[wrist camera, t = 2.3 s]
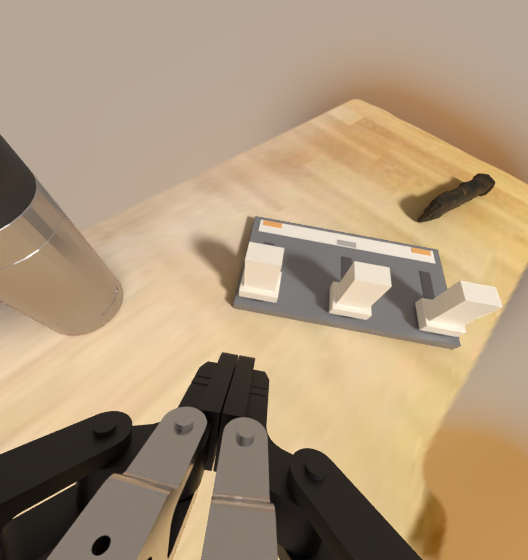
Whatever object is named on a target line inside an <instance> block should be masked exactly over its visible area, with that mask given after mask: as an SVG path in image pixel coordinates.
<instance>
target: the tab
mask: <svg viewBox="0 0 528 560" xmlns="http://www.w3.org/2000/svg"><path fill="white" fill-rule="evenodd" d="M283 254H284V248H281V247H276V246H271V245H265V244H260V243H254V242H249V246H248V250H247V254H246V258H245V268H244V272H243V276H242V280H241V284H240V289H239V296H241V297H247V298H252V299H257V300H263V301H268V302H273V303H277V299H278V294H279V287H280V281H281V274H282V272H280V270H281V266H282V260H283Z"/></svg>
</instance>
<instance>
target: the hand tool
mask: <svg viewBox="0 0 528 560" xmlns="http://www.w3.org/2000/svg"><path fill="white" fill-rule="evenodd" d="M494 185H495V181H494V180H493V179H492V178H491V177H490V175H488V174H477V175H476V176H474V177H473V179H472V180H471V181H469V182H463V183H462V184H460V185H459V187H458V188H456V189H454V190H452V191H450V192H444V193H442V194H441V195H439V196H438V197H436V198H435V199H434V200H433V201H432V202H431V203H430V204H429V206H428V207H427V208H426V209H425V210H424V213H423V214H422V216H421V217H420V218H419V219H418V222H426V221H430V220H433V219H436V218H440V217H441V216H442V215H443V214H445V213H446V212H448V211H450V210H452V209H454V208H456V207H459V206H460V205H462V204H464V203H465V202H468V201H470V200H472V199H473V198H475V197H477V196H478V195H479V196H483V195H487V193H488V192H489V191H491V190H492V188H493V187H494Z"/></svg>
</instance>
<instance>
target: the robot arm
mask: <svg viewBox="0 0 528 560" xmlns="http://www.w3.org/2000/svg"><path fill="white" fill-rule="evenodd" d="M122 299H123V290H122V287H121V284H120V283H119V281H118V280H117V279H116V277H115V276H114V275H113V274H112V272H111V271H110V270H109V269H108V267H107V266H106V264H105V263H104V262H103V261H102V259H101V258H100V257H99V256H98V254H97V253H96V252H95V251H94V249H93V248H92V247H91V246H90V244H89V243H88V242H87V241H86V239H85V238H84V237H83V236H82V234H81V233H80V232H79V231H78V230H77V228H76V227H75V226H74V224H73V223H72V222H71V221H70V219H69V218H68V217H67V216H66V214H65V213H64V212H63V211H62V209H61V208H60V207H59V205H58V204H57V203H56V202H55V201H54V199H53V198H52V197H51V196H50V194H49V193H48V192H47V191H46V189H45V188H44V187H43V186H42V184H41V183H40V182H39V181H38V179H37V178H36V177H35V176H34V174H33V173H32V172H31V171H30V170H29V168H28V167H27V166H26V165H25V164H24V162H23V161H22V160H21V159H20V157H18V155H17V154H16V153H15V152H14V150H13V149H12V148H11V147H10V146H9V144H8V143H7V142H6V141H5V140H4V138H3V137H2V136H1V135H0V301H1V302H3V303H5V304H7V305H9V306H10V307H12V308H14V309H16V310H18V311H20V312H21V313H23V314H25V315H27V316H29V317H30V318H32V319H34V320H36V321H37V322H39V323H41V324H43V325H45V326H47V327H48V328H50V329H52V330H54V331H56V332H58V333H60V334H64V335H82V334H87V333H89V332H92V331H95V330H97V329H98V328H100V327H102V326H103V325H105V324H106V323H107V322H109V321H110V320H111V319H112V318H113V317H114V315H115V314H116V313H117V311H118V310H119V308H120V305H121V303H122ZM254 362H255V358H252V357H246V356H241V355H239V358H238V355H235V354H229V353H224V352H222V354H221V356H220V358H219V361H218V363H214V362H206V363H205V364H204V365H202V366H201V367H200V368H199V369H198V371H197V373H196V375H195V377H194V379H193V380H192V383H191V384H190V386H189V388H188V390H187V392H186V393H185V395H184V397H183V399H182V401H181V403H180V404H179V406H178V408H176V409H174V410H171V411H170V412H168V413H167V414H166V415H165V416H164V417H163V419H162V420H161V422H159V423H155V424H149V425H137V426H132V420H131V418H130V417H129V416H128V415H127V414H125V413H123V412H119V411H109V412H104V413H100V414H97V415H95V416H93V417H90V418H88V419H85V420H83V421H80V422H78V423H75V424H73V425H71V426H68V427H66V428H63V429H61V430H58V431H56V432H54V433H51V434H49V435H46V436H44V437H41V438H39V439H36V440H34V441H32V442H29V443H27V444H24V445H22V446H19V447H17V448H14V449H12V450H10V451H7V452H5V453H2V454H0V560H173V557H174V554H175V552H176V549H177V546H178V544H179V541H180V538H181V536H182V533H183V530H184V528H185V525H186V522H187V520H188V517H189V514H190V512H191V509H192V506H193V504H194V501H195V499H196V496H197V492H198V487H199V485H200V482H201V479H202V476H203V473H204V470H209V471H212V467H213V463H214V460H215V464H214V471H215V472H216V478H215V483H214V489H213V495H212V499H211V505H210V511H209V516H208V522H207V528H206V534H205V540H204V545H203V551H202V557H201V560H278V557H279V559H280V560H422V559H421V558H420V557H419V556H418V554H417V553H416V552H415V551H414V550H413V549H412V548H411V547H410V546H409V545H408V544H407V542H406V541H405V540H404V539H403V538H402V537H401V536H400V535H399V534H398V533H397V532H396V530H395V529H394V528H393V527H392V526H391V525H390V524H389V523H388V522H387V521H386V520H385V518H384V517H383V516H382V515H381V514H380V513H379V512H378V511H377V510H376V509H375V508H374V506H373V505H372V504H371V503H370V502H369V501H368V500H367V499H366V498H365V497H364V495H363V494H362V493H361V492H360V491H359V490H358V489H357V488H356V487H355V486H354V485H353V483H352V482H351V481H350V480H349V479H348V478H347V477H346V476H345V475H344V474H343V473H342V471H341V470H340V469H339V468H338V467H337V466H336V465H335V464H334V463H333V462H332V461H331V459H329V458H328V457H327V456H326V455H325V454H323V453H322V452H320V451H317V450H315V449H310V448H304V449H300V450H298V451H296V452H295V453H294V454H293V455H292V454H290V453H288V452H287V451H285V450H283V449H281V448H279V447H278V446H277V445H276V444H274V443H273V441H272V440H271V439H270V437H269V436H268V433H267V429H266V422H267V407H268V392H269V379H268V377H267V375H266V373H265V372H263V371H258V370H253V368H254ZM215 456H216V458H215ZM75 482H76V484H75V485H73V486H72V487H70V488H68V489H66V490H64V491H63V492H61V493H59V494H57V495H56V496H54V497H52V498H50V499H48V500H47V501H45V502H43V503H41V504H39V505H38V506H36V507H34V508H32V509H30V510H29V511H27V512H25V513H23V514H21V515H20V516H18V517H16V518H14V517H15V516H16V515H18V514H19V513H21V512H22V511H24V510H26V509H28V508H30V507H31V506H33V505H35V504H37V503H39V502H40V501H42V500H44V499H46V498H48V497H49V496H51V495H53V494H55V493H57V492H59V491H60V490H62V489H64V488H66V487H68V486H69V485H71V484H73V483H75ZM12 518H14V519H12Z"/></svg>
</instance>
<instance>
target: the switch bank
mask: <svg viewBox="0 0 528 560" xmlns="http://www.w3.org/2000/svg"><path fill="white" fill-rule="evenodd" d="M249 242H254V243H260V244H265V245H271V246H276V247H281V248H284V254H283V260H282V266H281V270H280V272H282V274H281V281H280V287H279V294H278V299H277V303H273V302H268V301H263V300H257V299H252V298H247V297H241V296H239V289H240V284H241V280H242V276H243V272H244V268H245V260H244V264H243V268H242V272H241V276H240V280H239V284H238V288H237V292H236V296H235V300H234V308H236V309H241V310H246V311H252V312H257V313H262V314H267V315H273V316H278V317H283V318H289V319H294V320H299V321H305V322H310V323H315V324H321V325H326V326H331V327H336V328H342V329H347V330H352V331H358V332H363V333H368V334H374V335H379V336H384V337H390V338H395V339H400V340H405V341H411V342H416V343H421V344H427V345H432V346H437V347H443V348H448V349H455V348H457V347H460V346H461V345H460V341H459V337H454V336H449V335H444V334H438V333H433V332H428V331H422V330H419V324H418V317H417V311H416V305H415V303H416V302H417V301H418V300H420V299H421V298H425V299H430V300H433V299H434V298H435V297H437V296H438V295H440V294H441V293H443V292H444V291H446V290H447V286H446V282H445V278H444V274H443V270H442V265H441V261H440V257H439V253H438V250H437V249H431V248H426V247H420V246H415V245H409V244H404V243H399V242H393V241H388V240H382V239H377V238H371V237H366V236H361V235H355V234H350V233H344V232H339V231H333V230H328V229H323V228H317V227H312V226H306V225H301V224H295V223H290V222H285V221H279V220H274V219H268V218H263V217H258V216H255V220H254V224H253V228H252V232H251V236H250V240H249ZM248 246H249V244H248ZM247 250H248V248H247ZM246 254H247V252H246ZM245 258H246V256H245ZM354 261H357V262H362V263H368V264H373V265H378V266H384V267H389V268H390V276H391V285H392V287H391V288H390V289H389V290H388V291H386V292H385V293H384V294H383V295H382V296H381V297H380V298H379V299H378V300H377V301H376V302H375V303H374V304H373V305H372V306H371V313H372V316H371V317H369V318H368V319H367V320H364V319H358V318H353V317H348V316H342V315H337V314H332V313H329V296H330V286H331V284H332V283H333V281H334V282H339V283H340V281H341V280H342V279H343V277H344V276H345V274H346V273H347V271H348V270H349V268H350V267H351V265H352V264H353V262H354Z"/></svg>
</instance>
